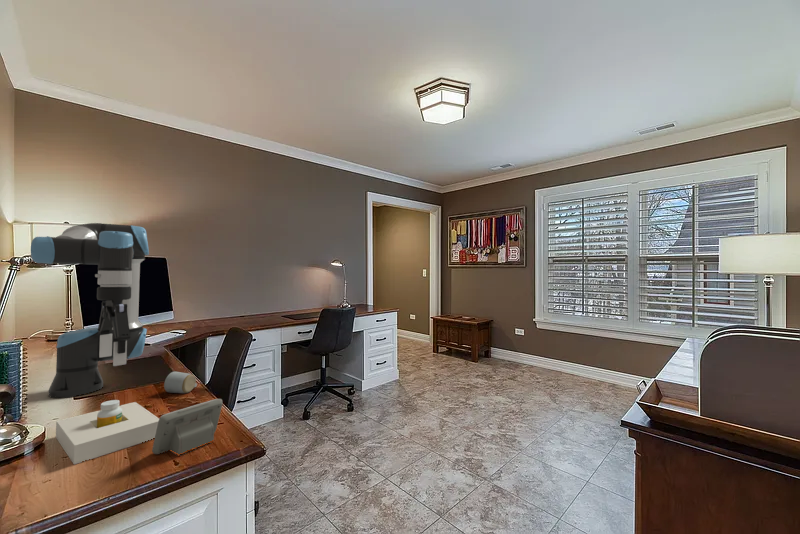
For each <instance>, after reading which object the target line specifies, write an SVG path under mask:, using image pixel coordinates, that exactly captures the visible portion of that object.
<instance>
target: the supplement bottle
mask: <svg viewBox="0 0 800 534" xmlns="http://www.w3.org/2000/svg"><path fill="white" fill-rule="evenodd" d="M119 406H120V400H119V399H111V400H107V401H103V402H102V403H100V410H101V411H100V412H99V413H98V414H97V428H100V427H104V426H108V425H111V424H115V423H119V422H122V409H121V408H120V407H119Z"/></svg>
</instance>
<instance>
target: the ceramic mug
mask: <svg viewBox="0 0 800 534" xmlns="http://www.w3.org/2000/svg"><path fill="white" fill-rule="evenodd" d="M197 386H198V383H197V379H196V376H195V375H194V374H192V373H189V372H183V371H182V372H180V371H171V372H170V373H169V374H167V376H166V378H165V379H164V385H163V387H164V388H163V389H164V390H165V392H167V393H171V394H173V393H174V394H188V393H190V392H191V391H192V390H193V389H194V388H197Z"/></svg>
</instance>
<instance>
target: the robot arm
mask: <svg viewBox="0 0 800 534" xmlns="http://www.w3.org/2000/svg"><path fill="white" fill-rule="evenodd" d="M149 255H150V249H149V242H148V234H147V230H146V229H145V228H144V227H142V226H139V225H132V224H131V225H129V224H128V225H127V224H117V223H116V224H115V223H114V224H113V223H102V222H94V223H93V222H91V223H89V222H88V223H84V224H83V223H82V224H77V225H73V226H70V227H68V228H66V229H65V230H64V231H63V232H62V234H60V235H58V236H55V237H54V236H35V237H34V238H32V240H31V244H30V257H31V260H32V261H33V262H34V263H37V264H48V265H53V264H57V265H58V264H61V265H62V264H63V265H97V273H95V274H94V277H95V278H97V285H99V286H97V288H96V299H97V301H102V302H101V310H100V316H99V322H98V326H97V327H89V328H82V329H76V330H71V331H67V332H64V333H62V334H60V335H59V336H58V338H57V344H56V347H55V348H56V365H55V366H56V367H55V368H56V369H55V375H54V377H53V379H52V382H51V384H50V386H49V388H48V397H49V396H51V397H50V398H53V397H65V398H72V397H71V396H73V397H77V396H76V395H79V396H81V395H80V394H84V395H86V394H85V393H88V394H90V393H89V392H92V393H94V392H93V391H95V392H97V391H96V390H98V391H99V389H100V390H101V389H102V387H103V388H104V380H103V377H102V375H101V373H100V371H99V366H98V365H99V362H105V361H112V366H113V367H118V366H122V365H127V360H129V359H133V358H139V357H140V356H142V355H143V353H144V352H143V351H144V348H145V344H146V338H147V331H148V329H147V328H145V327H143V325H144V324H143V323H141V322H140V321H139V307H140V305H139V304H140V303H139V302H140V277H141V275H140V274H141V263H143V261H145V260H146V256H149Z"/></svg>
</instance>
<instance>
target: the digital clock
mask: <svg viewBox="0 0 800 534" xmlns="http://www.w3.org/2000/svg"><path fill="white" fill-rule="evenodd" d="M222 408H223V399H222V398H215V399H211V400H208V401H205V402H204V401H203V402H201V403H197V404H194V405H191V406H188V407H184V408H180V409H177V410H174V411H170V412H168V413H163V414H162V415H161V416H160V417H159V421H158V425H157V430H156V435H155V439H153V445H152V449H151V451H152V454H154V455H160V453H161V454H163V452H164V453H166V452H168V450H172V451H174V452H176V453H178V454H180V453H183V452H185V451H187V450H190V449H192V448H195V447H198V446H200V445H202V444H205V443H208V442H210V441H212V440H214V439H215V436H214V435H215V432H216V430H217V428H218V423H219V419H220V416H221V412H222ZM214 441H215V440H214ZM165 451H166V452H165Z"/></svg>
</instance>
